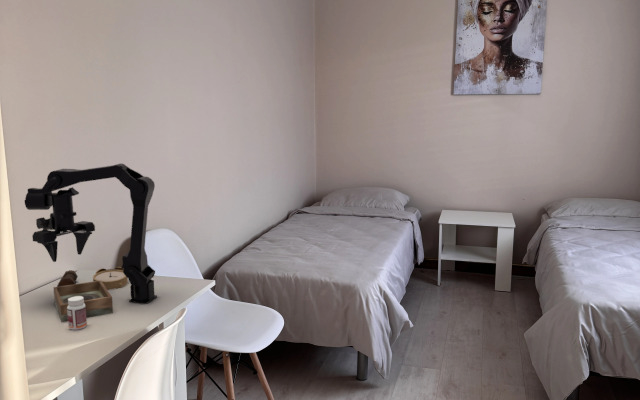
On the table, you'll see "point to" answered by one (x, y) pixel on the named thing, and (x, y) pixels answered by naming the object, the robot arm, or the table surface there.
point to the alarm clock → (111, 278)
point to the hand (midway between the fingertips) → (67, 257)
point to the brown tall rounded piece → (68, 278)
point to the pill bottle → (76, 313)
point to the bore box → (93, 294)
